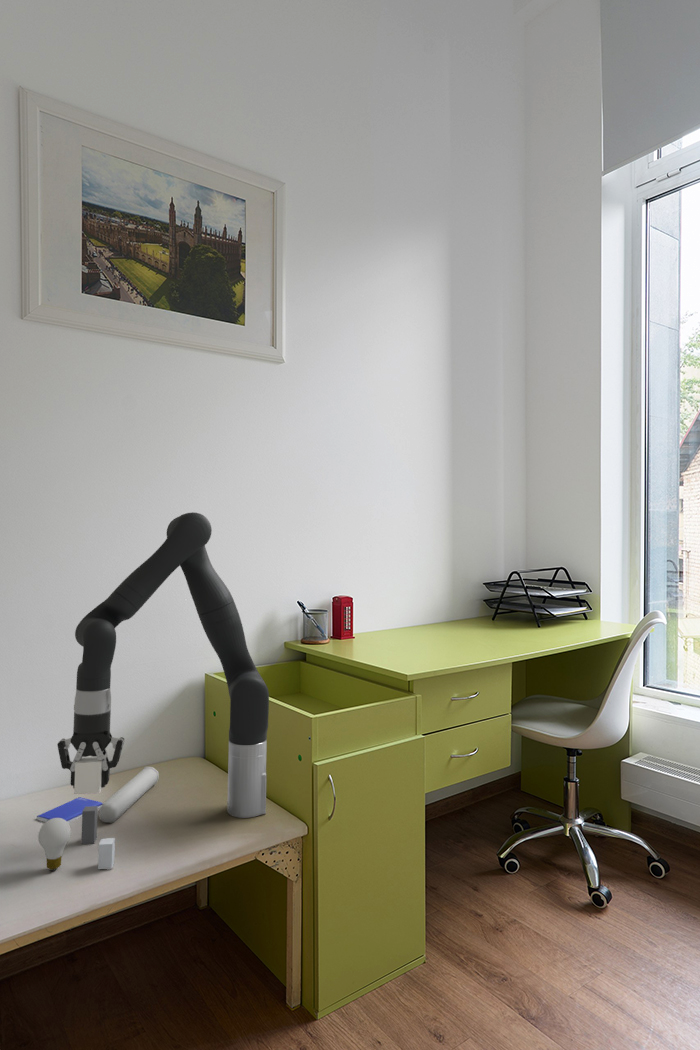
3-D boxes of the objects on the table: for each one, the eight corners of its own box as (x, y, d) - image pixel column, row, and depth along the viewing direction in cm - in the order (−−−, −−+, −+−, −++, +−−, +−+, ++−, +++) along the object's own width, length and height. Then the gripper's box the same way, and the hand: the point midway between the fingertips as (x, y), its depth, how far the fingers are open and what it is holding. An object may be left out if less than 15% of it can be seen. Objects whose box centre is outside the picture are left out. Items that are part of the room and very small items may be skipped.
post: (96, 838, 143) (97, 806, 143) (94, 843, 141) (94, 810, 141) (84, 838, 143) (85, 806, 143) (81, 844, 140) (82, 811, 140)
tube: (119, 809, 150) (161, 770, 175) (98, 800, 150) (143, 763, 175) (111, 830, 150) (155, 789, 175) (91, 822, 150) (137, 781, 175)
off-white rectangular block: (104, 784, 145) (105, 754, 145) (99, 793, 140) (100, 762, 140) (80, 785, 144) (81, 755, 145) (74, 794, 139) (75, 763, 139)
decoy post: (114, 862, 132) (114, 838, 133) (111, 869, 130) (112, 843, 130) (100, 863, 132) (101, 838, 132) (98, 870, 129) (98, 844, 130)
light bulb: (75, 869, 130) (76, 818, 130) (45, 880, 125) (46, 828, 125) (61, 859, 133) (63, 810, 134) (32, 870, 129) (33, 819, 129)
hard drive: (78, 796, 164) (36, 815, 152) (102, 802, 160) (61, 821, 149) (78, 802, 164) (36, 821, 152) (102, 808, 160) (61, 828, 149)
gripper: (129, 704, 148) (126, 779, 147) (63, 705, 145) (60, 781, 145) (123, 712, 140) (120, 792, 140) (53, 713, 138) (49, 794, 137)
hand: (89, 786), depth 142 cm, fingers closed on off-white rectangular block, 5 cm apart
